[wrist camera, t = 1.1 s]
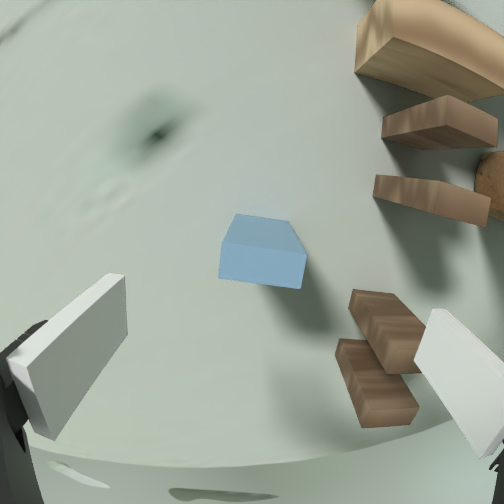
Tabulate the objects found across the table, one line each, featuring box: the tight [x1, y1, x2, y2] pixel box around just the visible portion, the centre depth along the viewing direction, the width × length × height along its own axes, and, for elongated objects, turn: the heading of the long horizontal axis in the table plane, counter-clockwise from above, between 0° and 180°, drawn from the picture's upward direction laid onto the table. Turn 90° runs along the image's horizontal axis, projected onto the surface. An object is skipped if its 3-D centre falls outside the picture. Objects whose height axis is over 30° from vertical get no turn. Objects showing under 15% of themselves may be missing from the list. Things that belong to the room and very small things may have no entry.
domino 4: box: [381, 95, 498, 150], centre depth 21 cm, size 2×5×12 cm, turn 82°
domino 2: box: [348, 289, 426, 374], centre depth 26 cm, size 2×5×12 cm, turn 82°
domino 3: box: [335, 339, 419, 428], centre depth 28 cm, size 2×5×12 cm, turn 82°
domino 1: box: [218, 214, 307, 289], centre depth 24 cm, size 2×5×12 cm, turn 82°
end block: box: [355, 0, 504, 103], centre depth 20 cm, size 6×12×10 cm, turn 82°
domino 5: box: [373, 175, 491, 228], centre depth 23 cm, size 2×5×12 cm, turn 82°
